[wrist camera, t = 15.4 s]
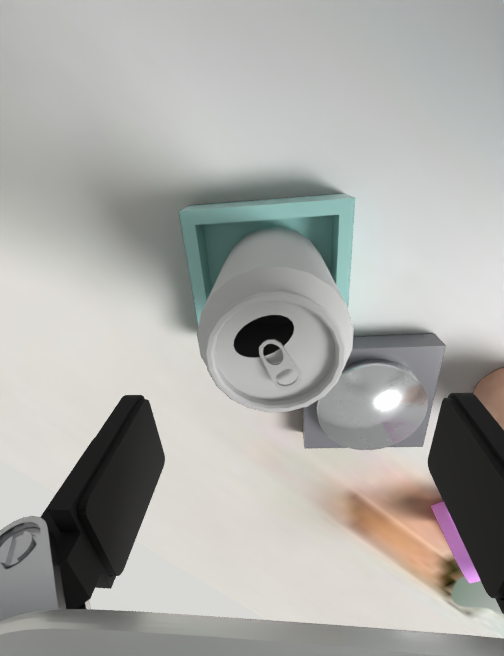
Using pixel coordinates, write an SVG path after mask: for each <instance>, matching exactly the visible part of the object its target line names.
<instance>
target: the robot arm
mask: <svg viewBox="0 0 504 656" xmlns="http://www.w3.org/2000/svg"><path fill="white" fill-rule="evenodd" d="M164 462H165V456H164V452H163V448H162V445H161V441H160V438H159V434H158V431H157V427H156V424H155V420H154V417H153V413H152V410H151V406H150V403H149V401H148V400H146V399H144V397H143V396H142V395H125V396H123V397H122V398H121V400H120V401H119V403H118V404H117V406H116V407H115V409H114V410H113V412H112V413H111V415H110V416H109V418H108V419H107V421H106V422H105V424H104V425H103V427H102V428H101V430H100V431H99V433H98V434H97V436H96V437H95V438H94V439H93V440H92V442H91V443H90V445H89V446H88V448H87V449H86V451H85V452H84V453H83V455H82V456H81V458H80V459H79V461H78V462H77V464H76V465H75V467H74V468H73V470H72V471H71V473H70V474H69V476H68V477H67V479H66V480H65V482H64V483H63V485H62V486H61V488H60V489H59V491H58V492H57V493H56V495H55V496H54V498H53V499H52V501H51V502H50V504H49V505H48V507H47V508H46V510H45V511H44V513H43V515H42V516H41V517H36V516H29V517H24V518H21V519H19V520H16V521H14V522H12V523H11V524H9V525H7V526H6V527H4V528H3V529H2V530H0V656H504V639H502V638H491V637H481V636H470V635H459V634H446V633H433V632H420V631H407V630H394V629H381V628H368V627H355V626H341V625H327V624H313V623H299V622H285V621H271V620H256V619H243V618H228V617H213V616H198V615H181V614H167V613H152V612H136V611H135V612H134V611H113V610H91V608H90V603H89V599H90V598H91V596H92V593H93V591H94V589H95V587H98V588H111V587H112V585H113V582H114V580H115V577H116V576H119V575H120V574H121V573H122V572H123V570H124V567H125V565H126V562H127V559H128V557H129V554H130V552H131V549H132V547H133V544H134V542H135V539H136V536H137V534H138V531H139V529H140V526H141V523H142V521H143V518H144V516H145V513H146V511H147V508H148V505H149V503H150V500H151V498H152V495H153V492H154V490H155V487H156V485H157V482H158V480H159V477H160V474H161V472H162V469H163V466H164ZM428 467H429V471H430V473H431V475H432V477H433V480H434V482H435V484H436V486H437V488H438V490H439V492H440V494H441V497H442V499H443V501H444V503H445V505H446V507H447V509H448V512H449V514H450V516H451V518H452V520H453V522H454V524H455V527H456V529H457V531H458V533H459V535H460V537H461V539H462V542H463V544H464V546H465V548H466V550H467V552H468V554H469V556H470V559H471V561H472V563H473V565H474V567H475V569H476V571H477V574H478V576H479V578H480V580H481V582H482V584H483V586H484V588H485V590H486V592H487V593H488V595H489V596H490V597H491V598H496V601H497V603H498V605H499V607H500V609H501V611H502V613H503V614H504V430H503V429H502V427H501V426H500V425H499V424H498V422H497V421H496V420H495V419H494V418H493V416H492V415H491V414H490V413H489V411H488V410H487V409H486V408H485V406H484V405H483V404H482V403H481V401H480V400H479V399H478V398H477V397H476V396H475V395H474V394H472V393H451V394H450V395H449V396H448V398H444V399H443V401H442V404H441V408H440V412H439V417H438V421H437V425H436V429H435V433H434V437H433V441H432V445H431V449H430V453H429V457H428Z"/></svg>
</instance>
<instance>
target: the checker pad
mask: <svg viewBox="0 0 504 656" xmlns="http://www.w3.org/2000/svg"><path fill="white" fill-rule="evenodd" d="M427 408H428V399H427V395H426V392H425V390H424V388H423V387H422V385H421V384H420V382H419V381H418V379H417V378H416V376H415V375H414V374H413V373H412V372H411V371H410V370H409V369H408V368H406V367H405V366H403V365H401V364H399V363H396V362H393V361H389V360H384V359H366V360H360V361H356V362H353V363H350V364H348V365H345V367H344V369H343V371H342V373H341V376H340V378H339V380H338V382H337V383H336V384H335V385H334V386H333V388H332V389H331V390H330V391H329V392H328V393H327V394H326V395H325V396H324V397H322V398H321V399H319V400H317V401H316V410H317V416H318V421H319V424H320V426H321V428H322V430H323V431H324V433H325V434H326V435H327V436H328V437H329V438H330V439H331V440H333V441H334V442H336V443H338V444H340V445H342V446H345V447H348V448H352V449H358V450H374V449H381V448H385V447H389V446H391V445H394V444H396V443H399V442H401V441H402V440H404V439H406V438H407V437H409V436H410V435H411V434H412V433H413V432H415V431H416V430H417V428H418V427H419V426H420V425H421V423H422V422H423V420H424V418H425V416H426V413H427Z"/></svg>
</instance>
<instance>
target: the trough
mask: <svg viewBox="0 0 504 656" xmlns="http://www.w3.org/2000/svg"><path fill="white" fill-rule="evenodd" d="M354 207H355V198H354V197H351V196H349V195H347V194H345V193H344V194H331V195H318V196H305V197H292V198H279V199H266V200H253V201H240V202H227V203H214V204H201V205H190V206H188V207H186V208H184V209H182V210H180V211H179V215H180V221H181V227H182V233H183V239H184V244H185V250H186V256H187V262H188V268H189V274H190V280H191V286H192V291H193V297H194V303H195V309H196V315H197V321H198V327H199V321H200V316H201V312H202V310H203V308H204V306H205V304H206V302H207V299H208V297H209V295H210V293H211V291H212V289H213V287H214V284H215V282H216V280H217V278H218V276H219V274H220V272H221V269H222V267H223V265H224V263H225V261H226V259H227V257H228V255H229V254H230V252H231V250H232V248H233V247H234V245H235V244H236V243H238V242H239V241H240V240H241V239H242V238H243V237H244V236H246V235H247V234H249V233H252V232H254V231H256V230H259V229H261V228H269V227H283V228H286V229H290V230H294V231H297V232H298V233H300V234H301V235H303V236H304V237H306V238H307V239H309V240H310V241H311V242H312V244H313V245H314V246H315V247H316V249H317V250H318V251H319V253H320V254H321V256H322V258H323V260H324V262H325V264H326V266H327V268H328V270H329V272H330V274H331V276H332V278H333V280H334V282H335V284H336V286H337V287H338V289H339V291H340V293H341V295H342V297H343V299H344V301H345V303H346V305H347V308H348V301H349V286H350V270H351V254H352V239H353V223H354Z"/></svg>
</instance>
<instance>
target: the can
mask: <svg viewBox="0 0 504 656" xmlns="http://www.w3.org/2000/svg"><path fill="white" fill-rule="evenodd" d="M353 331H354V327H353V324H352V320H351V317H350V314H349V311H348V308H347V305H346V303H345V301H344V299H343V297H342V295H341V293H340V291H339V289H338V287H337V286H336V284H335V282H334V280H333V278H332V276H331V274H330V272H329V270H328V268H327V266H326V264H325V262H324V260H323V258H322V256H321V254H320V253H319V251H318V250H317V249H316V247H315V246H314V245H313V244H312V242H311V241H310V240H309V239H307V238H306V237H304V236H303V235H301V234H300V233H298V232H297V231H294V230H290V229H286V228H283V227H269V228H261V229H259V230H256V231H254V232H252V233H249V234H247V235H246V236H244V237H243V238H242V239H241V240H240V241H239V242H238V243H236V244H235V245H234V247H233V248H232V250H231V252H230V254H229V255H228V257H227V259H226V261H225V263H224V265H223V267H222V269H221V272H220V274H219V276H218V278H217V280H216V282H215V284H214V287H213V289H212V291H211V293H210V295H209V297H208V299H207V302H206V304H205V306H204V308H203V310H202V312H201V316H200V321H199V327H198V333H197V337H198V343H199V348H200V354H201V357H202V359H203V360H204V362H205V364H206V366H207V370H208V372H209V373H210V375H211V377H212V379H213V380H214V382H215V384H216V386H217V387H218V388H219V389H220V390H221V391H223V392H224V393H225V394H226V395H227V396H228V397H229V398H230V399H232V400H234V401H236V402H238V403H240V404H241V405H243V406H245V407H247V408H251V409H255V410H260V411H264V412H289V411H292V410H296V409H300V408H303V407H307V406H309V405H310V404H312V403H314V402H316V401H317V400H319V399H321V398H322V397H324V396H325V395H326V394H327V393H328V392H329V391H330V390H331V389H332V388H333V386H334V385H335V384H336V383H337V382H338V380H339V378H340V376H341V373H342V371H343V369H344V367H345V364H346V362H347V360H348V358H349V356H350V353H351V351H352V346H353Z"/></svg>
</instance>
